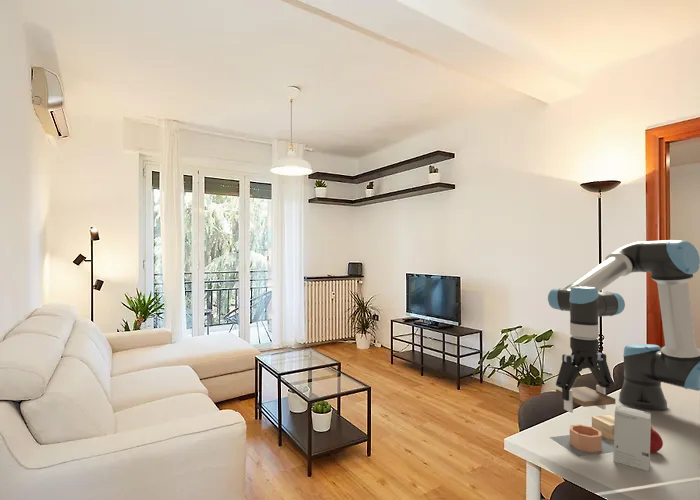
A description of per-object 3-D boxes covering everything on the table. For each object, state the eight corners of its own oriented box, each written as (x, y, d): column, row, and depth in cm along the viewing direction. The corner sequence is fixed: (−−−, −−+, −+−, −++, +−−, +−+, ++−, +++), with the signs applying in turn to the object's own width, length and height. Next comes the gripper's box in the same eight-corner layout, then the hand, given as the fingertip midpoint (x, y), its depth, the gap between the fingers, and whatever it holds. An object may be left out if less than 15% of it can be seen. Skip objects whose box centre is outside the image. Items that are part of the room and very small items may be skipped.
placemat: (591, 434, 127) (591, 432, 127) (624, 452, 115) (624, 450, 115) (549, 439, 124) (549, 437, 124) (578, 458, 112) (578, 456, 112)
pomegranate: (667, 459, 111) (667, 431, 112) (644, 457, 113) (644, 429, 113) (655, 449, 117) (655, 422, 117) (634, 447, 118) (634, 421, 118)
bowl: (586, 437, 123) (586, 423, 123) (608, 450, 115) (608, 435, 115) (564, 440, 122) (563, 426, 122) (585, 453, 114) (584, 438, 114)
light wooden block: (609, 429, 130) (609, 414, 130) (628, 439, 124) (628, 423, 124) (592, 431, 129) (591, 416, 129) (610, 441, 122) (609, 425, 122)
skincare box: (613, 463, 109) (612, 410, 110) (615, 454, 114) (615, 404, 114) (650, 474, 104) (649, 418, 104) (651, 464, 109) (651, 411, 109)
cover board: (585, 391, 125) (585, 386, 125) (615, 403, 114) (615, 398, 114) (556, 393, 123) (556, 389, 123) (583, 406, 112) (583, 401, 112)
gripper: (605, 333, 125) (606, 401, 125) (542, 336, 120) (542, 407, 120) (626, 338, 118) (627, 410, 117) (560, 341, 113) (560, 417, 112)
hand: (584, 409), depth 119 cm, fingers closed on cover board, 11 cm apart
